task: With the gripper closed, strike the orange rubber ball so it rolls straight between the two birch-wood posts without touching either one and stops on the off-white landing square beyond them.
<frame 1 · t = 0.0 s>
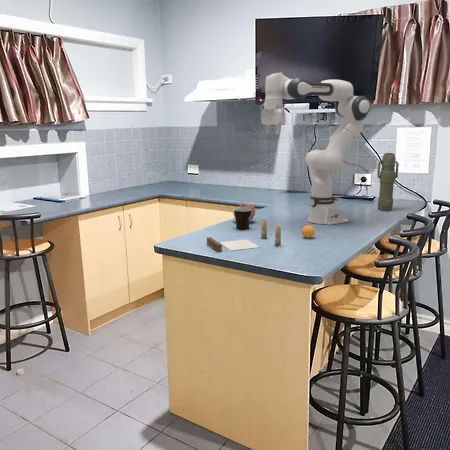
hand: (272, 134, 237), 48 cm above the worktop, tool pointing down, fingers open, 8 cm apart
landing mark: (239, 245, 212), on the worktop
post 1: (263, 238, 224), on the worktop
stopper wall: (214, 247, 207), on the worktop
coffee mug: (240, 229, 242), on the worktop
thermos: (384, 210, 290), on the worktop
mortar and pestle: (244, 222, 257), on the worktop
ball: (308, 231, 224), on the worktop
post 2: (277, 245, 211), on the worktop
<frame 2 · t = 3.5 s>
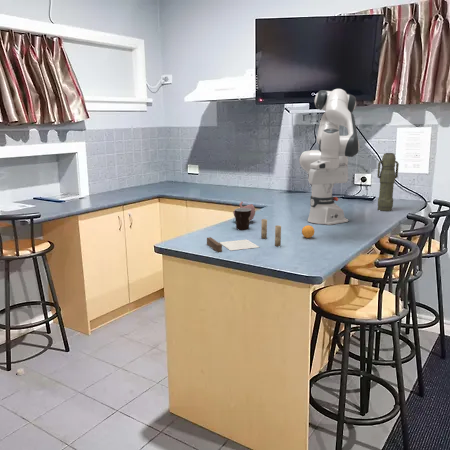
hand: (327, 193, 223), 21 cm above the worktop, tool pointing down, fingers closed
nothing on the worktop moved.
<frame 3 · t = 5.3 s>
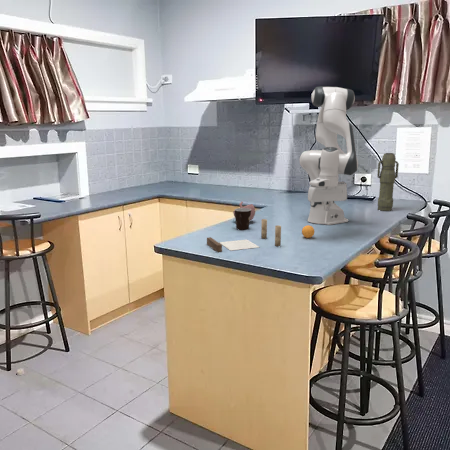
hand: (326, 210, 224), 13 cm above the worktop, tool pointing down, fingers closed
nothing on the worktop moved.
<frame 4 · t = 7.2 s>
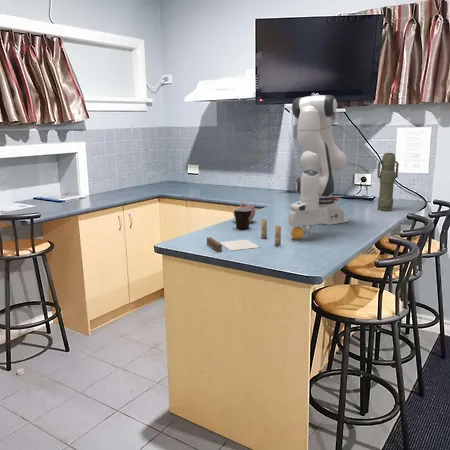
hand: (307, 233, 223), 2 cm above the worktop, tool pointing down, fingers closed
ball: (297, 232, 221), on the worktop
everything else where it was.
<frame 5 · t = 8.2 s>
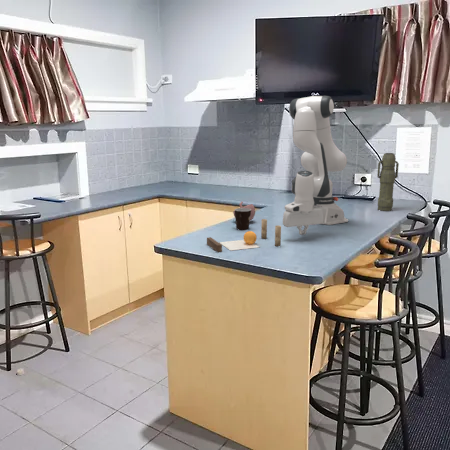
hand: (302, 234, 223), 2 cm above the worktop, tool pointing down, fingers closed
ball: (250, 237, 213), on the worktop
everything else where it was.
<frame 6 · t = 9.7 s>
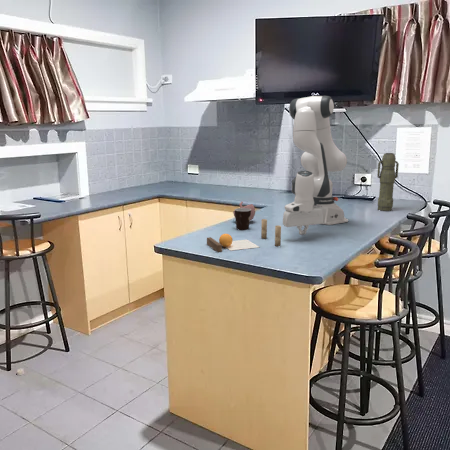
hand: (302, 234, 223), 2 cm above the worktop, tool pointing down, fingers closed
ball: (225, 240, 208), on the worktop
everything else where it was.
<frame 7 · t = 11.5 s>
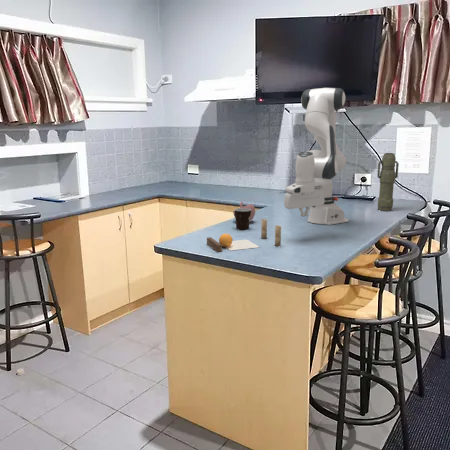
hand: (304, 216, 221), 11 cm above the worktop, tool pointing down, fingers closed
nothing on the worktop moved.
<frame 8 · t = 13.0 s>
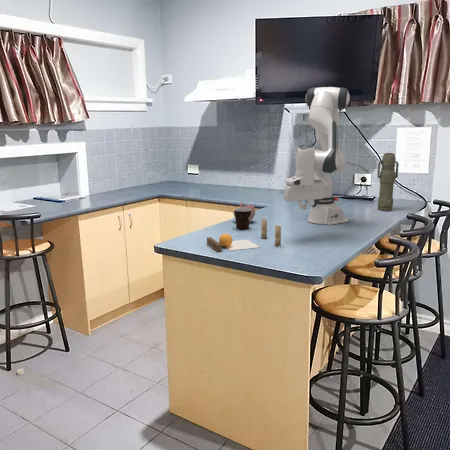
hand: (303, 209, 220), 14 cm above the worktop, tool pointing down, fingers closed
nothing on the worktop moved.
at the end: ball 6.6 cm from the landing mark (horizontally); ball never touched post 2; ball never touched post 1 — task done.
